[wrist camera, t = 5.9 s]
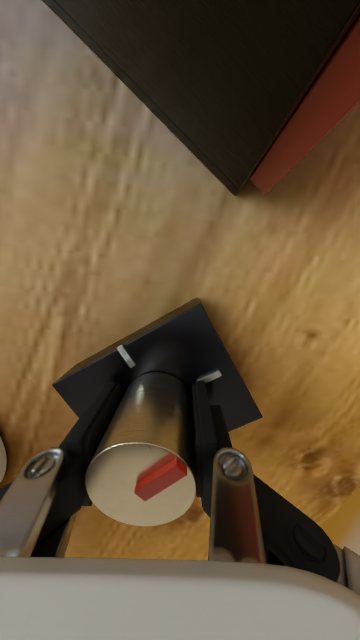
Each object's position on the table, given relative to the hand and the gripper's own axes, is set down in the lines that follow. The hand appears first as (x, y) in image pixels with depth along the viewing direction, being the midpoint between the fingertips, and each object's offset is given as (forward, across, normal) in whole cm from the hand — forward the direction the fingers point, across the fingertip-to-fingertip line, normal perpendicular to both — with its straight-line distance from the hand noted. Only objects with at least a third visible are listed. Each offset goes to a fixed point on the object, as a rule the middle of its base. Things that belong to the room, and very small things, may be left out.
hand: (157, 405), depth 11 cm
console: (+3, 0, 0) cm, 3 cm away
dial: (0, 0, 0) cm, 0 cm away
